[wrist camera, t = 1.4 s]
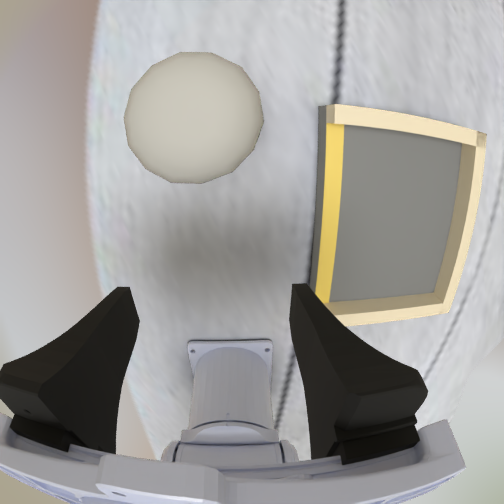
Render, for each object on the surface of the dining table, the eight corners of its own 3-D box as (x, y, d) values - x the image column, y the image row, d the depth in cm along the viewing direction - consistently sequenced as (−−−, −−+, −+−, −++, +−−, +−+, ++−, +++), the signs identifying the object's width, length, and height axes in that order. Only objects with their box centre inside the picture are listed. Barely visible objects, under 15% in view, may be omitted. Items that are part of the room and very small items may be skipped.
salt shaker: (161, 111, 19) (60, 106, 7) (229, 64, 17) (215, -14, 6) (208, 174, 21) (168, 251, 9) (276, 130, 20) (330, 146, 8)
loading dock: (429, 291, 26) (448, 312, 23) (307, 301, 26) (317, 328, 22) (458, 128, 19) (486, 133, 16) (318, 106, 19) (334, 104, 15)
